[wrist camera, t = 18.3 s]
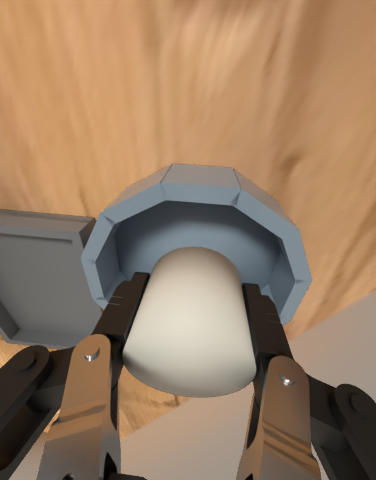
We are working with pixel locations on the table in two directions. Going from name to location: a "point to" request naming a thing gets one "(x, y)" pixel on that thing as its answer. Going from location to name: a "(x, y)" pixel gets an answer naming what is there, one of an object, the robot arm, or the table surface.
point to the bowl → (198, 232)
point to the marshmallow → (192, 327)
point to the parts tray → (45, 279)
